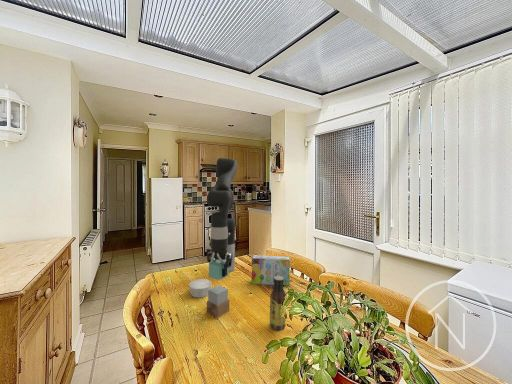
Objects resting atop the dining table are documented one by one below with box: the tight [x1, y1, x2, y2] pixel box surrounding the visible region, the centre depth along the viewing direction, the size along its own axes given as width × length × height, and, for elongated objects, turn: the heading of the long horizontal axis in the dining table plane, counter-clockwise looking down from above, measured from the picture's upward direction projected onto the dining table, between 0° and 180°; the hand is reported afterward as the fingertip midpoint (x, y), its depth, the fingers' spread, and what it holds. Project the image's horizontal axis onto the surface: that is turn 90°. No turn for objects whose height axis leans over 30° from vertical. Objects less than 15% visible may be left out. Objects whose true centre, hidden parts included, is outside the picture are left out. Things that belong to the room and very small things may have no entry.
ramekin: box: [188, 278, 213, 298], centre depth 117 cm, size 11×11×5 cm
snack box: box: [251, 254, 291, 287], centre depth 130 cm, size 21×6×15 cm, turn 84°
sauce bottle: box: [269, 276, 287, 331], centre depth 91 cm, size 6×6×20 cm
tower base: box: [206, 299, 230, 319], centre depth 101 cm, size 7×7×5 cm
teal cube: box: [208, 260, 229, 281], centre depth 100 cm, size 6×6×6 cm
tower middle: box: [207, 284, 229, 306], centre depth 101 cm, size 6×6×5 cm
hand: (218, 274), depth 100 cm, fingers closed on teal cube, 6 cm apart
